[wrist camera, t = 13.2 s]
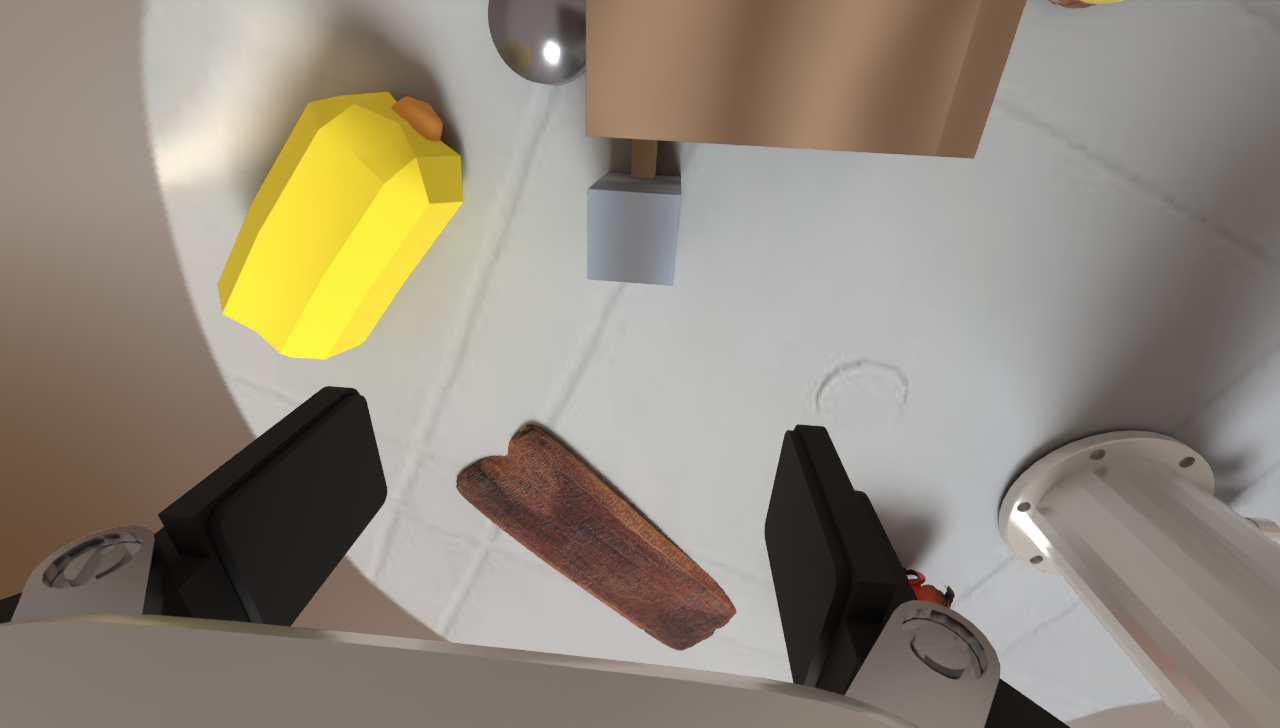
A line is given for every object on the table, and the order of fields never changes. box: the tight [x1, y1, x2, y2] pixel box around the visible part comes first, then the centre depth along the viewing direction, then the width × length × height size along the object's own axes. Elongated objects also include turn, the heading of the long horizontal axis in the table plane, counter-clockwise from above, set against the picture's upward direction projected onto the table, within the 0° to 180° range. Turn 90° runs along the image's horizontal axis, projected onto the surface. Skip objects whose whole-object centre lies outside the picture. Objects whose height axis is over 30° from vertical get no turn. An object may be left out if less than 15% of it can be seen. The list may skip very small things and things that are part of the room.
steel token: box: [488, 0, 586, 85], centre depth 24 cm, size 5×5×2 cm
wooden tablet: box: [456, 425, 736, 650], centre depth 41 cm, size 26×2×10 cm
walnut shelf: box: [586, 0, 1026, 158], centre depth 21 cm, size 16×9×7 cm, turn 87°
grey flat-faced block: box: [587, 139, 681, 286], centre depth 23 cm, size 4×13×7 cm, turn 177°
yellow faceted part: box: [218, 92, 463, 359], centre depth 27 cm, size 18×7×8 cm
